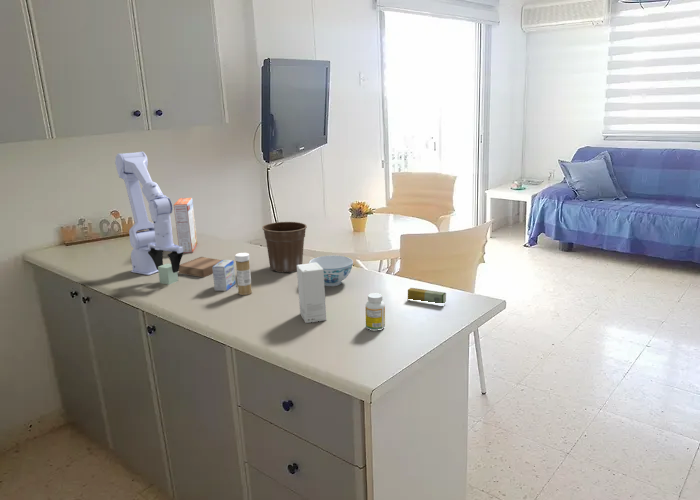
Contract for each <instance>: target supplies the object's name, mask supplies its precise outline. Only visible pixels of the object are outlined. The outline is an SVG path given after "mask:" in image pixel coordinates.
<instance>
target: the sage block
mask: <svg viewBox="0 0 700 500" xmlns="http://www.w3.org/2000/svg"><path fill="white" fill-rule="evenodd" d="M158 271H159V272H158V279H159V284H162V285H163V284H164V285H172V284H174V283H177V282H178V281H179V275H178V272H175V273H173V271H172V265H171V263H163V265H161V266H159V267H158Z"/></svg>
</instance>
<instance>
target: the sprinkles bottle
mask: <svg viewBox="0 0 700 500" xmlns="http://www.w3.org/2000/svg"><path fill="white" fill-rule="evenodd" d="M234 260H235V261H234V262H235V268H236V269H235V270H236V279H237V288H238V289H237V290H238V291H237V293H238V294H239V295H241V296H248V295H251V294H252V293H253V292H252V278H251V266H250V253H248V252H238V253H236V254H235V255H234Z"/></svg>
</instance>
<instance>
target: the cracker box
mask: <svg viewBox="0 0 700 500" xmlns="http://www.w3.org/2000/svg"><path fill="white" fill-rule="evenodd" d="M173 211H174V218H175V219H174V220H175V221H174V222H175V229H176V236H177V245H178V246H181V247H183V252H184V254H187V253H188V254H189V253H190V254H191V253H194V250H195V249H196V247H197V244H198V238H197V229H196V228H197V227H196V219H195V211H194V200H193V197H180V198H178V199H177V201H176V202H174V204H173Z"/></svg>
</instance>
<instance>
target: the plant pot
mask: <svg viewBox="0 0 700 500" xmlns="http://www.w3.org/2000/svg"><path fill="white" fill-rule="evenodd" d="M262 230H263V233H264V238H265V242H266V249H267V255H268V261H269V262H268V263H269V269H270V270H271V271H273V272H275V271H276V272H277V273H291V272H297V265H300V264H304V263H303V260H304V257H303V256H304V245H305V244H304V243H305V237H306V230H307V224H305V223H303V222H297V221H279V222H272V223H266V224H264V225H263V226H262Z"/></svg>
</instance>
